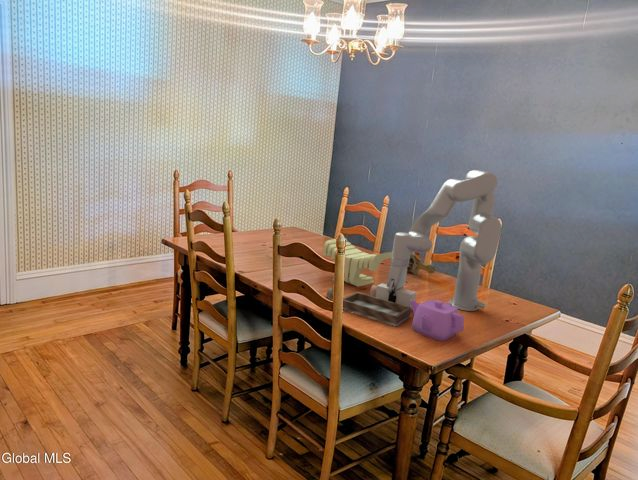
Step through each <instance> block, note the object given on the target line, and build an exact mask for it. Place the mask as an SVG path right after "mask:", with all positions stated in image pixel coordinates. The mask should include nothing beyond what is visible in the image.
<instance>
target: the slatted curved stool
mask: <svg viewBox="0 0 638 480" xmlns="http://www.w3.org/2000/svg"><path fill="white" fill-rule="evenodd" d="M344 238H345V240H346V247H345V283H347V284H351V285H353V286H355V287H362V286H366V285H369V284H373V283H375V280H374V278H373V276H368V275H366V274H363V273H361V272H362V271H363V269H364V268H365V269H368V270H369V271H370V272H374V271H377V270H378V268H379V265H380V264H381V263H382V262H383V261H384V260H385V261H386V260H387V259H391V258H392V251H387V252H382V253H380V254H379V253H378V254H373V253H371V254H370V253H367V252H364V251H363V250H360V249H359V248H356V246H354V245H352V243H351V242H350V241H348V240H347V238H346V237H344ZM336 239H337V238H333V239H328V240H326V241H325V243H324V244H323V248H322V256H326V257H330V258H331V259H332V260H333V261H335V260H334V259H335V254H336V250H337V248H336Z"/></svg>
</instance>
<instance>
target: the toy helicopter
mask: <svg viewBox="0 0 638 480" xmlns="http://www.w3.org/2000/svg"><path fill="white" fill-rule="evenodd" d="M420 270H423V271H426V273H428V275H429V274H434V273H435V272H436V267H435V265H434V264H432V263H430V264H428V263H427V264H426V263H424V262H422V258H421V255H420V253H418V252H414V251H412V252H410V259H409V266H408V267H407V272H410V273H412V274H413V275H418V274H419V271H420Z"/></svg>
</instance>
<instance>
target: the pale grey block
mask: <svg viewBox="0 0 638 480" xmlns="http://www.w3.org/2000/svg"><path fill="white" fill-rule="evenodd" d="M388 288H389V287H387V283H386V284H385V283H383V282H382V283H380V284H377V285H375V284H372V285H371V287H370V289H369V290H370V291H369V295H370V296H373V297H377V298H380V299H384V300H387V301H388V298H389V291H388ZM393 288H395V287H393ZM392 290H393V289H392ZM393 291H395V290H393ZM416 295H417V292H416V291H413V290H409V289H406V288H403V289H402V288H399V289H397V291H396V295H395V296H396V302H395V303H397V304H401V305H404V306H408V307H411V303H410V301H412V300H413V301H416ZM411 310H412V307H411Z"/></svg>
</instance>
